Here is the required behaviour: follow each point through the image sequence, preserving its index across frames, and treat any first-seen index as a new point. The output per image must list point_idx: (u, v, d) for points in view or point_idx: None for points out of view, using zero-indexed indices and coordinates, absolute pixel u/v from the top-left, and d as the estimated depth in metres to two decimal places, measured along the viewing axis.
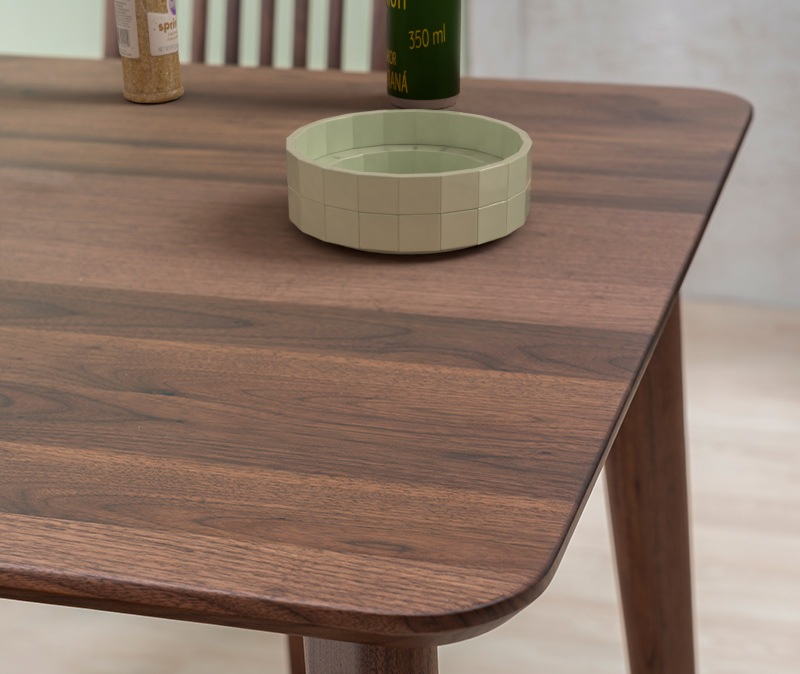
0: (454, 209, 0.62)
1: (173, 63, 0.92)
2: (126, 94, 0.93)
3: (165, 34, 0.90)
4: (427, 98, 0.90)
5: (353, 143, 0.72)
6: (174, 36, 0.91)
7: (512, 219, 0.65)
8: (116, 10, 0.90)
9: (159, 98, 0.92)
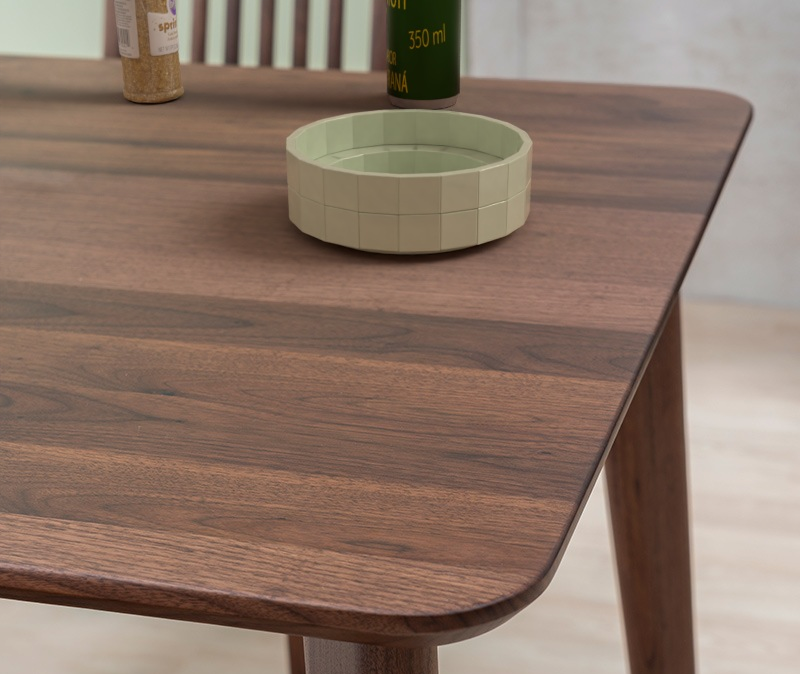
0: (454, 209, 0.62)
1: (173, 63, 0.92)
2: (126, 94, 0.93)
3: (165, 34, 0.90)
4: (427, 98, 0.90)
5: (353, 143, 0.72)
6: (174, 36, 0.91)
7: (512, 219, 0.65)
8: (116, 10, 0.90)
9: (159, 98, 0.92)
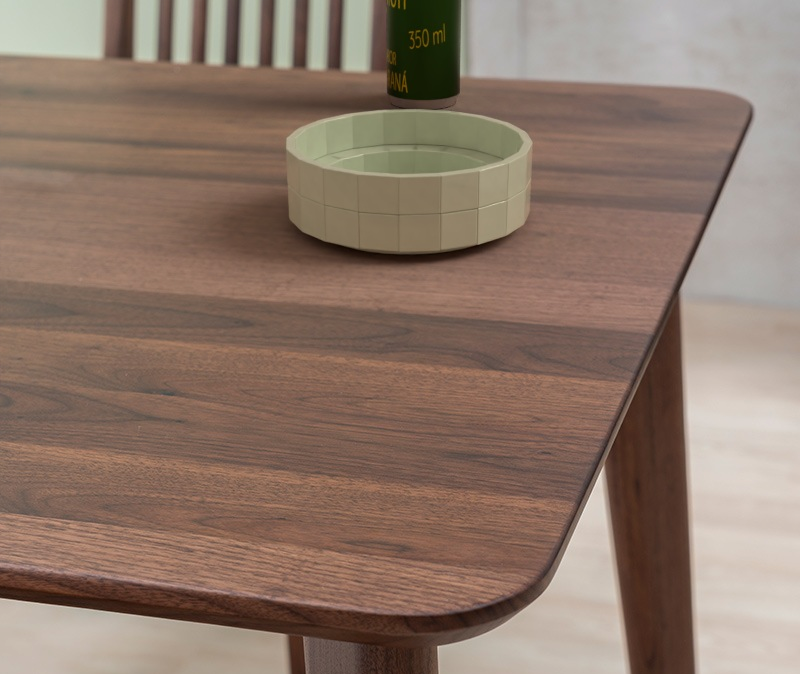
0: (454, 209, 0.62)
1: None
2: None
3: None
4: (427, 98, 0.90)
5: (353, 143, 0.72)
6: None
7: (512, 219, 0.65)
8: None
9: None
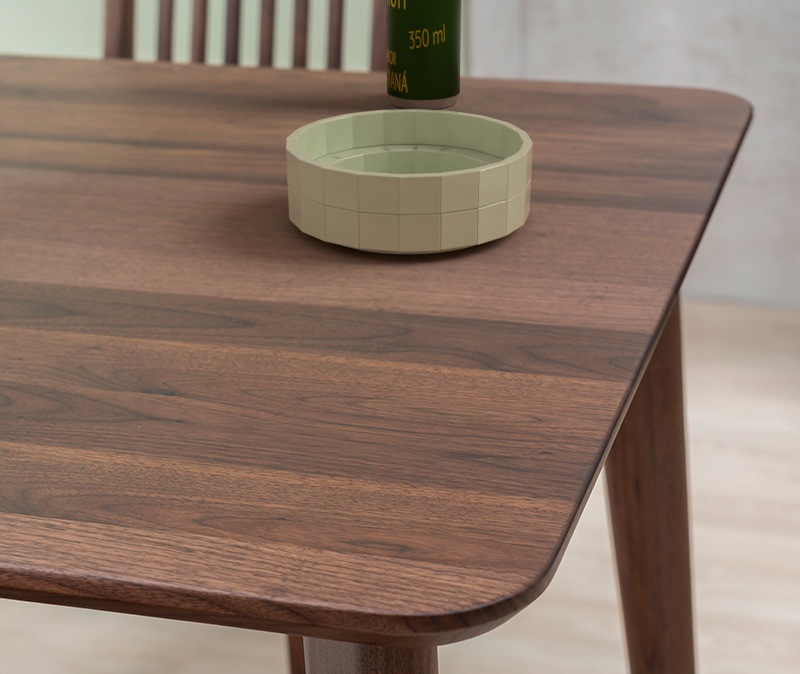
0: (454, 209, 0.62)
1: None
2: None
3: None
4: (427, 98, 0.90)
5: (353, 143, 0.72)
6: None
7: (512, 219, 0.65)
8: None
9: None
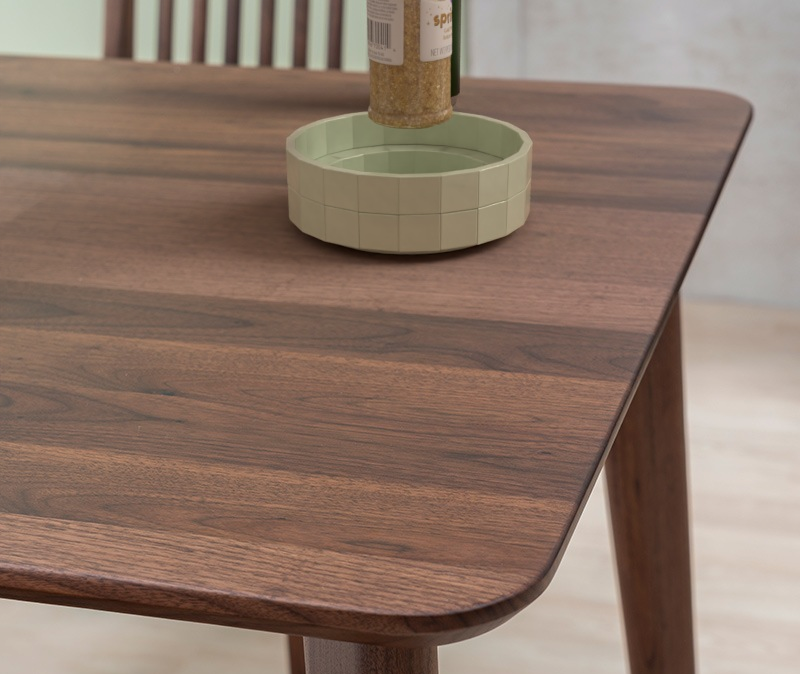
0: (454, 209, 0.62)
1: (446, 72, 0.64)
2: (376, 116, 0.65)
3: (441, 31, 0.63)
4: None
5: (353, 143, 0.72)
6: (450, 33, 0.64)
7: (512, 219, 0.65)
8: None
9: (425, 122, 0.64)
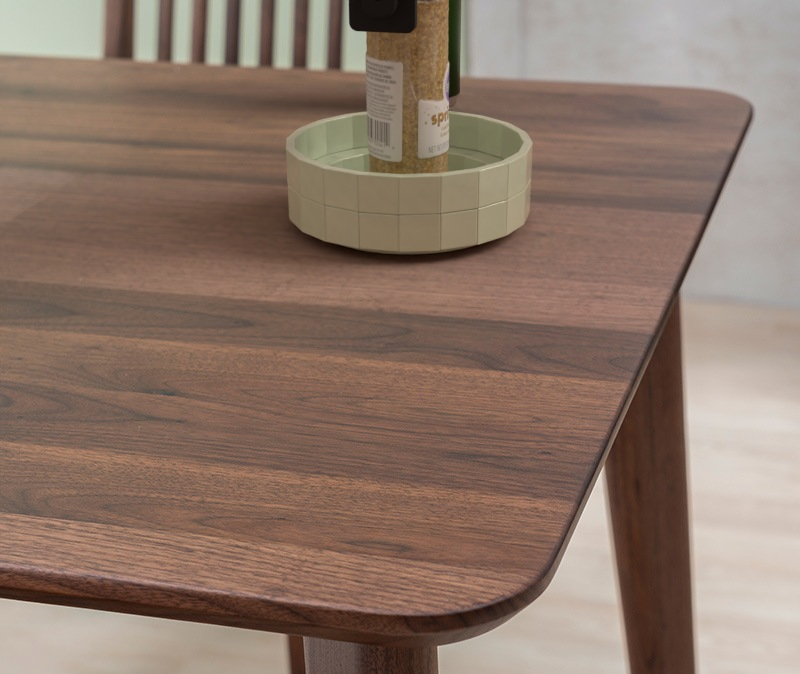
0: (454, 209, 0.62)
1: (443, 167, 0.66)
2: None
3: (439, 129, 0.65)
4: None
5: (353, 143, 0.72)
6: (447, 129, 0.66)
7: (512, 219, 0.65)
8: (371, 95, 0.65)
9: None
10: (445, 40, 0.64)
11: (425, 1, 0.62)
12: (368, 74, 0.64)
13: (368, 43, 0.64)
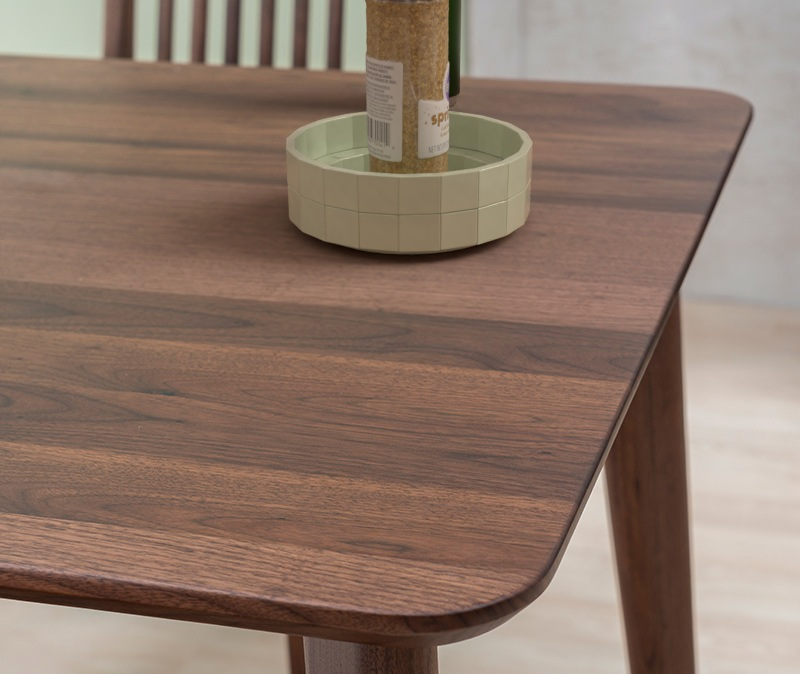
0: (454, 209, 0.62)
1: (443, 167, 0.66)
2: None
3: (439, 129, 0.65)
4: None
5: (353, 143, 0.72)
6: (447, 129, 0.66)
7: (512, 219, 0.65)
8: (371, 95, 0.65)
9: None
10: (445, 40, 0.64)
11: (425, 1, 0.62)
12: (368, 74, 0.64)
13: (368, 43, 0.64)
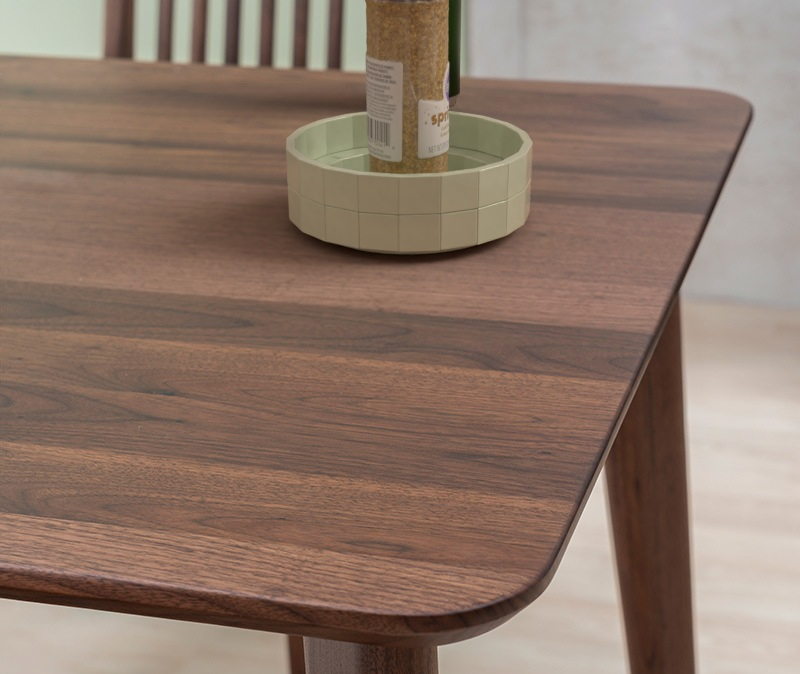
0: (454, 209, 0.62)
1: (443, 167, 0.66)
2: None
3: (439, 129, 0.65)
4: None
5: (353, 143, 0.72)
6: (447, 129, 0.66)
7: (512, 219, 0.65)
8: (371, 95, 0.65)
9: None
10: (445, 40, 0.64)
11: (425, 1, 0.62)
12: (368, 74, 0.64)
13: (368, 43, 0.64)
